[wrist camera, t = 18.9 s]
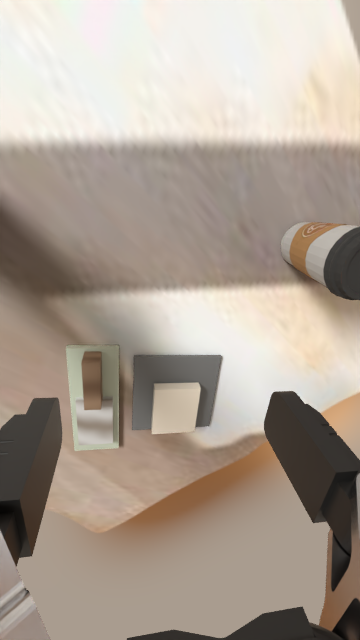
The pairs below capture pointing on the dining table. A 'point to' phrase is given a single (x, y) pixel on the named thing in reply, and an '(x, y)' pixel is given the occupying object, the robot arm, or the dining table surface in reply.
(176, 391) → the tile
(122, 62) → the dining table surface
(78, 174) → the dining table surface
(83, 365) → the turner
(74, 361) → the board
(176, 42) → the dining table surface
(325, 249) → the coffee cup
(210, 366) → the mat
